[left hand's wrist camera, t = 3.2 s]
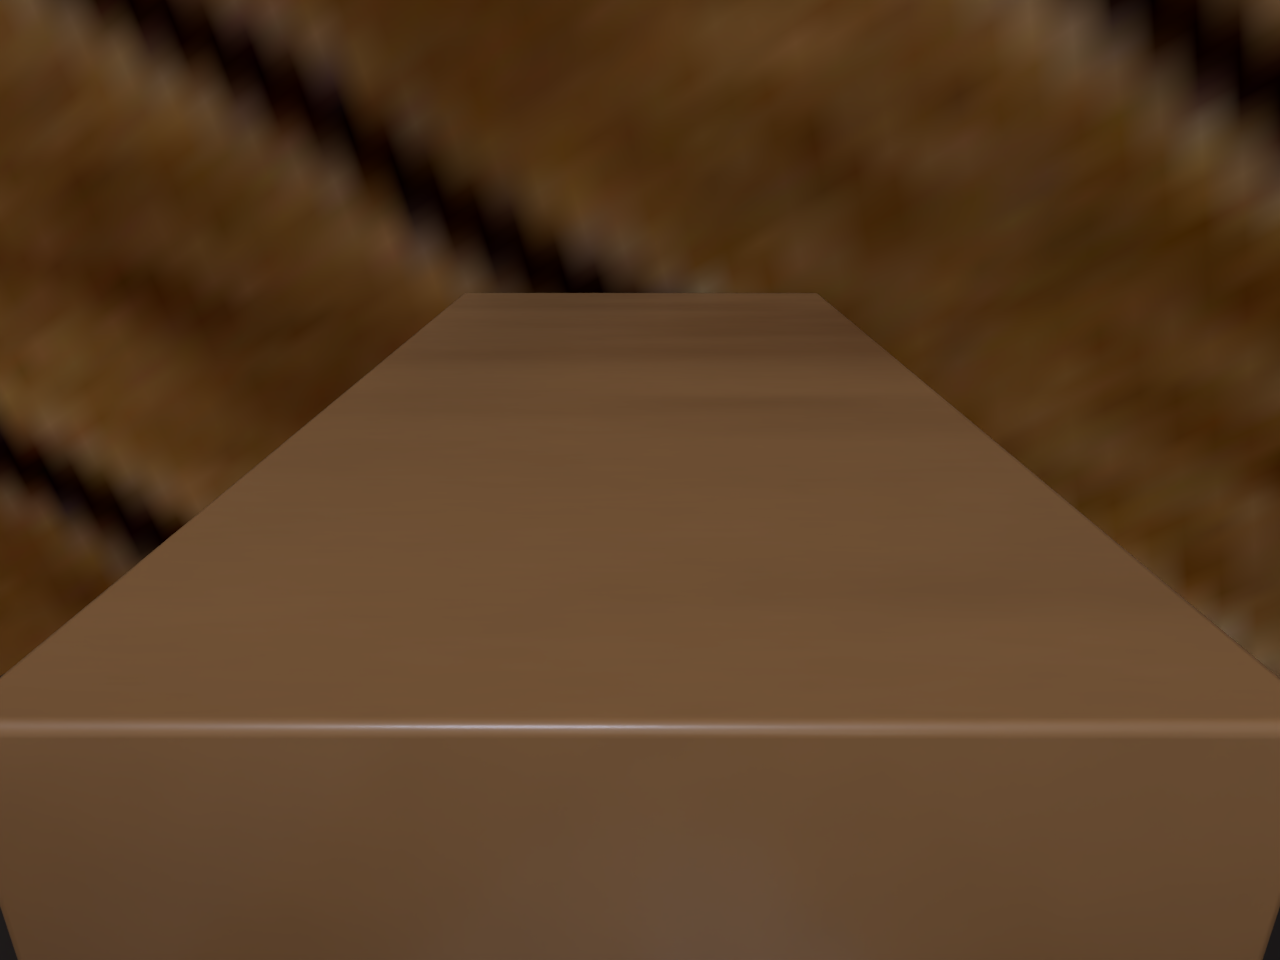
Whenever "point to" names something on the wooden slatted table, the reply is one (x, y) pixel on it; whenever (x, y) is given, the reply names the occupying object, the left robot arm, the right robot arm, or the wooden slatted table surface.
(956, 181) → the wooden slatted table surface
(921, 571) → the box
